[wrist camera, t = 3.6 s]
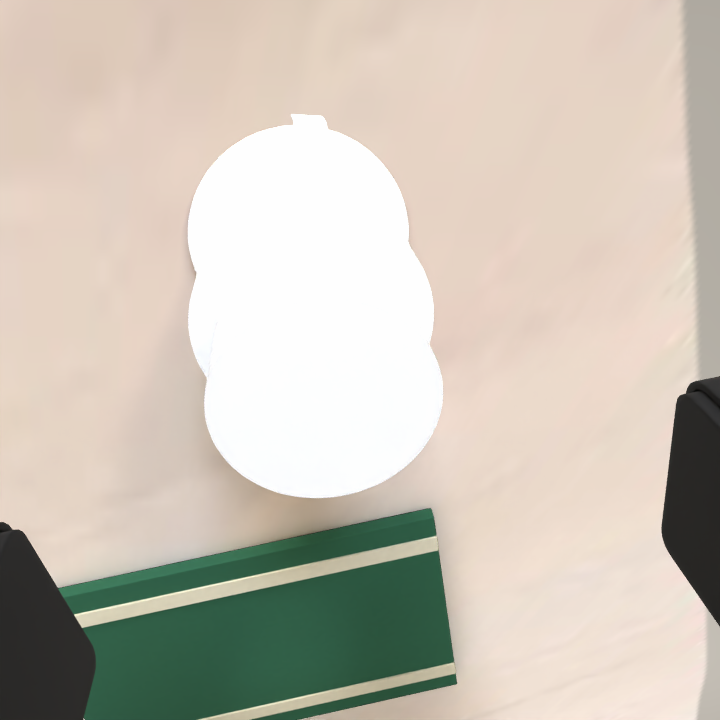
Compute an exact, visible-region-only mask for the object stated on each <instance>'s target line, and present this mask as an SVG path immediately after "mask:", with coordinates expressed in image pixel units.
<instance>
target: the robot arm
mask: <svg viewBox="0 0 720 720" xmlns="http://www.w3.org/2000/svg"><path fill="white" fill-rule="evenodd" d="M662 537H663V541H664V544H665V546H666V548H667V550H668V552H669V554H670V555H671V557H672V558H673V560H674V561H675V563H676V564H677V565H678V567H679V568H680V570H681V571H682V573H683V574H684V576H685V577H686V578H687V580H688V581H689V583H690V584H691V586H692V587H693V589H694V590H695V591H696V593H697V594H698V596H699V597H700V599H701V600H702V602H703V603H704V604H705V606H706V607H707V609H708V610H709V612H710V613H711V615H712V616H713V617H714V619H715V620H716V622H717V623H718V624H719V626H720V376H719V377H715V378H710V379H704V380H700V381H695V382H693V383H690V385H689V386H688V388H687V391H686V394H683V395H680V396H679V397H678V399H677V403H676V410H675V418H674V427H673V435H672V443H671V452H670V460H669V469H668V477H667V486H666V494H665V502H664V511H663V519H662ZM95 669H96V656H95V651H94V648H93V645H92V644H91V642H90V640H89V639H88V637H87V635H86V634H85V632H84V630H83V629H82V627H81V625H80V624H79V622H78V621H77V619H76V617H75V616H74V614H73V612H72V611H71V609H70V607H69V606H68V604H67V602H66V601H65V599H64V598H63V596H62V594H61V593H60V591H59V589H58V588H57V586H56V584H55V583H54V581H53V579H52V578H51V576H50V575H49V573H48V571H47V570H46V568H45V566H44V565H43V563H42V561H41V560H40V558H39V556H38V555H37V553H36V552H35V550H34V548H33V547H32V545H31V543H30V542H29V540H28V538H27V537H26V535H25V534H24V533H23V532H22V531H20V530H12V528H11V527H10V526H9V525H8V524H6V523H4V522H0V720H83V718H84V714H85V710H86V706H87V702H88V698H89V694H90V691H91V687H92V683H93V679H94V675H95Z"/></svg>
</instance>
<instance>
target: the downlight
mask: <svg viewBox="0 0 720 720" xmlns="http://www.w3.org/2000/svg"><path fill="white" fill-rule="evenodd" d="M291 117H292V120H293V125H289V126H280V127H275V128H270V129H267V130H264V131H260V132H258V133H255V134H253V135H251V136H248V137H246V138H245V139H243V140H241V141H239V142H238V143H236V144H235V145H233V146H232V147H230V148H229V149H228V150H227V151H225V152H224V153H223V154H222V155H221V156H220V157H219V158H218V159H217V160H216V161H215V162H214V163H213V164H212V166H211V167H210V168H209V170H208V171H207V172H206V174H205V175H204V177H203V179H202V181H201V182H200V184H199V186H198V189H197V191H196V193H195V196H194V199H193V202H192V205H191V210H190V214H189V222H188V242H189V250H190V254H191V259H192V262H193V265H194V268H195V271H196V273H197V274H196V279H195V283H194V287H193V291H192V295H191V299H190V305H189V314H188V326H189V335H190V340H191V344H192V348H193V351H194V354H195V357H196V359H197V361H198V363H199V365H200V367H201V369H202V371H203V372H204V374H205V376H206V377H207V382H206V389H205V397H204V410H205V419H206V423H207V427H208V430H209V433H210V436H211V438H212V440H213V442H214V444H215V446H216V447H217V449H218V450H219V452H220V453H221V455H222V456H223V457H224V458H225V460H226V461H227V462H228V463H229V464H230V465H231V466H232V467H233V468H234V469H235V470H236V471H238V472H239V473H240V474H241V475H243V476H244V477H246V478H247V479H249V480H250V481H252V482H254V483H256V484H258V485H260V486H262V487H264V488H266V489H269V490H272V491H275V492H278V493H281V494H285V495H290V496H296V497H305V498H329V497H337V496H344V495H348V494H353V493H356V492H359V491H363V490H365V489H368V488H370V487H373V486H375V485H377V484H379V483H381V482H383V481H385V480H387V479H389V478H390V477H392V476H393V475H395V474H396V473H398V472H399V471H401V470H402V469H403V468H404V467H406V466H407V465H408V464H409V463H410V462H411V461H412V460H413V459H414V458H415V457H416V456H417V455H418V454H419V453H420V451H421V450H422V449H423V448H424V446H425V445H426V443H427V442H428V440H429V439H430V437H431V435H432V434H433V432H434V429H435V427H436V425H437V422H438V419H439V416H440V412H441V408H442V401H443V383H442V376H441V372H440V367H439V365H438V362H437V359H436V357H435V355H434V353H433V351H432V349H431V347H430V344H429V342H430V339H431V335H432V330H433V321H434V306H433V297H432V293H431V288H430V285H429V282H428V279H427V276H426V274H425V272H424V270H423V268H422V266H421V264H420V262H419V261H418V259H417V257H416V256H415V254H414V252H413V250H412V249H411V247H410V245H409V244H408V238H409V226H408V217H407V211H406V207H405V203H404V200H403V198H402V195H401V192H400V190H399V188H398V186H397V184H396V182H395V180H394V179H393V177H392V175H391V174H390V173H389V171H388V170H387V169H386V167H385V166H384V165H383V163H382V162H381V161H380V160H379V159H378V158H377V157H376V156H375V155H374V154H373V153H371V152H370V151H369V150H368V149H367V148H365V147H364V146H363V145H361V144H360V143H358V142H356V141H355V140H353V139H351V138H349V137H347V136H345V135H343V134H341V133H338V132H335V131H332V130H329V129H327V123H326V121H325V119H324V118H323V116H314V115H298V114H291Z"/></svg>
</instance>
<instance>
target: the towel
mask: <svg viewBox="0 0 720 720" xmlns="http://www.w3.org/2000/svg"><path fill="white" fill-rule="evenodd" d="M58 589H59V591H60V593H61V594H62V596H63V598H64V599H65V601H66V602H67V604H68V606H69V607H70V609H71V611H72V612H73V614H74V616H75V617H76V619H77V621H78V622H79V624H80V625H81V627H82V629H83V630H84V632H85V634H86V635H87V637H88V639H89V640H90V642H91V644H92V645H93V648H94V651H95V656H96V669H95V675H94V679H93V683H92V687H91V691H90V694H89V698H88V702H87V706H86V710H85V714H84V719H85V720H299V719H304V718H308V717H313V716H317V715H322V714H326V713H331V712H335V711H339V710H344V709H348V708H353V707H357V706H362V705H366V704H371V703H375V702H380V701H384V700H388V699H393V698H397V697H402V696H406V695H411V694H415V693H420V692H424V691H429V690H433V689H437V688H442V687H446V686H451V685H455V684H457V679H456V669H455V663H454V658H453V650H452V643H451V636H450V629H449V622H448V615H447V607H446V600H445V593H444V586H443V579H442V572H441V565H440V557H439V547H438V540H437V536H436V529H435V522H434V516H433V513H432V510H431V508H429V509H424V510H419V511H415V512H410V513H406V514H401V515H396V516H392V517H387V518H382V519H378V520H373V521H368V522H364V523H359V524H354V525H350V526H345V527H341V528H336V529H331V530H327V531H322V532H317V533H313V534H308V535H303V536H299V537H294V538H290V539H285V540H280V541H276V542H271V543H266V544H262V545H257V546H252V547H248V548H243V549H238V550H234V551H229V552H225V553H220V554H215V555H211V556H206V557H201V558H197V559H192V560H187V561H183V562H178V563H173V564H169V565H164V566H160V567H155V568H150V569H146V570H141V571H136V572H132V573H127V574H122V575H118V576H113V577H109V578H104V579H99V580H95V581H90V582H85V583H81V584H76V585H71V586H67V587H62V588H58Z"/></svg>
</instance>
